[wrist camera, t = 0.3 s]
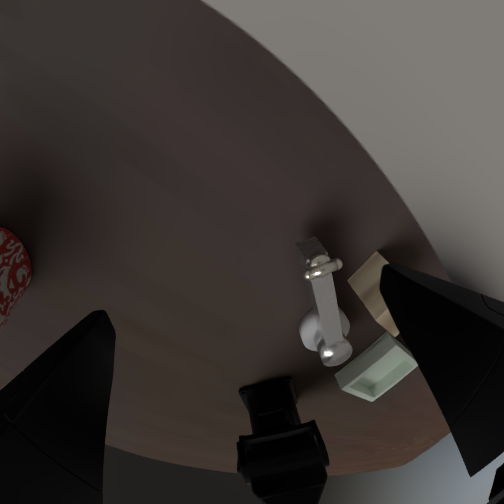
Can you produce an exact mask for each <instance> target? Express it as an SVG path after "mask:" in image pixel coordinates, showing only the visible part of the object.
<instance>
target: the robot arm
mask: <svg viewBox="0 0 504 504" xmlns="http://www.w3.org/2000/svg"><path fill="white" fill-rule="evenodd" d="M379 290H380V293H381V295H382V297H383V300H384V302H385V304H386V306H387V308H388V310H389V312H390V314H391V317H392V319H393V321H394V323H395V325H396V327H397V329H398V331H399V333H400V334H401V336H402V338H403V340H404V341H405V343H406V345H407V347H408V348H409V350H410V352H411V354H412V355H413V357H414V359H415V361H416V363H417V364H418V366H419V368H420V370H421V372H422V374H423V376H424V377H425V379H426V381H427V383H428V385H429V387H430V389H431V391H432V393H433V395H434V397H435V399H436V401H437V403H438V405H439V407H440V409H441V411H442V413H443V415H444V417H445V420H446V422H447V424H448V426H449V429H450V431H451V433H452V435H453V437H454V440H455V442H456V444H457V446H458V449H459V451H460V453H461V456H462V458H463V461H464V463H465V466H466V469H467V471H468V473H469V475H470V477H472V476H473V475H475V474H476V473H477V472H479V471H480V470H481V469H483V468H484V467H485V466H487V465H488V464H489V463H491V462H492V461H493V460H494V459H496V458H497V457H498V456H499V455H500V454H502V453H503V452H504V302H502V301H499V300H496V299H493V298H491V297H488V296H485V295H483V294H479V293H478V292H475V291H472V290H470V289H467V288H464V287H461V286H459V285H456V284H453V283H451V282H448V281H445V280H442V279H439V278H437V277H434V276H431V275H428V274H425V273H423V272H420V271H417V270H414V269H411V268H408V267H405V266H402V265H399V264H397V263H390V264H385V265H384V266H383V267H382V270H381V277H380V284H379ZM115 339H116V333H115V329H114V327H113V325H112V323H111V321H110V319H109V316H108V314H107V313H106V311H104V310H97V311H93V312H91V313H90V314H89V315H87V316H86V317H85V318H84V319H83V320H81V321H80V322H79V323H78V324H76V325H75V326H74V327H73V328H72V329H70V330H69V331H68V332H67V333H66V334H64V335H63V336H62V337H61V338H60V339H59V340H57V341H56V342H55V343H54V344H53V345H51V346H50V347H49V348H48V349H47V350H46V351H45V352H43V353H42V354H41V355H40V356H39V357H38V358H36V359H35V360H34V361H33V362H32V363H31V364H30V365H29V366H27V367H26V368H25V369H24V371H22V372H21V373H20V374H18V375H17V376H16V377H15V378H14V379H13V380H12V381H11V382H10V383H8V384H7V385H6V386H5V387H4V388H3V389H1V390H0V504H103V493H102V491H103V463H104V447H105V436H106V425H107V416H108V408H109V400H110V393H111V386H112V379H113V369H114V352H115ZM239 394H240V396H241V398H242V400H243V402H244V404H245V406H246V408H247V410H248V412H249V415H250V421H251V427H252V433H253V434H252V435H246V436H244V435H242V436H239V442H237V443H236V444H237V451H238V461H237V472H238V474H240V475H242V476H243V479H245V482H246V484H247V485H248V484H251V487H252V491H253V493H254V495H255V496H256V497H257V498H258V499H260V501H261V502H262V503H263V504H318V503H319V500H320V498H321V495H322V492H323V489H324V486H325V483H326V480H327V472H326V469H325V468H327V467H329V458H328V453H327V450H326V447H325V444H324V441H323V439H322V437H321V434H320V432H319V429H318V427H317V425H316V422H315V420H311V421H310V422H307V423H303V424H301V421H300V418H299V414H298V411H297V407H296V404H297V403H298V401H297V397H296V393H295V388H294V384H293V380H292V377H285V378H281V379H277V380H274V381H270V382H266V383H262V384H258V385H254V386H250V387H245V388H241V389H239ZM487 504H504V463H503V464H502V465H501V466H500V467H499V468H498V469H497V470H496V475H495V478H494V482H493V486H492V489H491V493H490V496H489V502H488V503H487Z"/></svg>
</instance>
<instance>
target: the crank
mask: <svg viewBox="0 0 504 504" xmlns="http://www.w3.org/2000/svg"><path fill="white" fill-rule="evenodd" d="M295 244H296V247H297V251H298V254H299V258H300V262H301V265H302V269H303V277H304V279H305V280H306V284H307V288H308V292H309V296H310V299H311V303H312V307H313V311H314V315H315V319H316V323H317V327H318V331H317V332H316V333H315V335H314V338H313V341H314V344H315V346H316V348H317V351H318V353H319V355H320V358H321V360H322V362H323V364H324V365H326V366H337V365H339V364H342V363H343V362H345V361H346V360H347V359H348V358H349V357H350V356H351V354H352V347H351V345H350V343H349V341H348V340H347V338H346V336H345V334H344V332H343V331H342V329H341V323H340V316H339V310H338V305H337V299H336V293H335V288H334V283H333V277H332V272H334V271H336V270H339V269H340V268H341V267H342V265H343V263H342V260H341V259H339V258H334V259H330V258H329V256H328V252H327V251H326V249H325V248H324V247H323V246H322V244H321V243H320V242H319V241H318V239H317V238H316V237H315V236H314V237H311V238H309V239H306V240H303V241H300V242H297V243H295Z"/></svg>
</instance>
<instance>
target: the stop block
mask: <svg viewBox="0 0 504 504" xmlns="http://www.w3.org/2000/svg"><path fill="white" fill-rule="evenodd" d="M385 264H390V263H389V262H388V261H386V260H385V259H384V258H383V257H382V256H381V255H380V254H379V253H378V252H377V251H376V252H375V253H374V254H373V255H372V256H371V257H370V258H369V259H368V260H367V261H366V262H365V263H364V264H363V265H362V266H361V267H360V268H359V269H358V270H357V271H356V272H355V273H354V274H353V275H352V276H351V277H350V278H349V279H348V280H347V281H348V283H349V284H350V286H351V287H352V288H353V290H354V291H355V292H356V294H357V295H358V297H359V298H360V299H361V301H362V302H363V304H364V305H365V306H366V308H367V309H368V311H369V312H370V313H371V315H372V316H373V318H374V319H375V320H376V321H377V322H378V323H379V324H380V325H381V326H383V327H384V328H385V329H386V330H387V331H388V332H389V333H391V334H392V335H393V336H394V337H396V336H397V335H398V334H399V331H398V329H397V327H396V325H395V323H394V321H393V319H392V317H391V314H390V312H389V310H388V308H387V306H386V304H385V302H384V300H383V297H382V295H381V293H380V290H379V284H380V277H381V270H382V267H383V266H384V265H385Z"/></svg>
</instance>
